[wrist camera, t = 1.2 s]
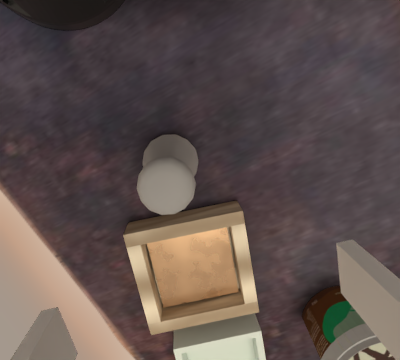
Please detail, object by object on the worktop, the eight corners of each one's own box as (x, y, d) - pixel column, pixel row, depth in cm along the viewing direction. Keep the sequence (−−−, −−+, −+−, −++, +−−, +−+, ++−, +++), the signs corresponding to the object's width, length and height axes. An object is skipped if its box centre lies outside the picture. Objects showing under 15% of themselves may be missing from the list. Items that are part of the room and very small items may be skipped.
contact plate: (146, 236, 34) (145, 238, 34) (225, 220, 34) (226, 222, 34) (163, 304, 37) (163, 307, 36) (237, 289, 37) (238, 291, 36)
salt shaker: (196, 131, 33) (207, 147, 20) (198, 181, 34) (209, 226, 21) (142, 133, 32) (119, 151, 20) (147, 184, 34) (127, 230, 21)
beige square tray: (128, 222, 35) (123, 235, 31) (236, 200, 35) (242, 210, 31) (153, 314, 38) (151, 335, 35) (252, 293, 38) (259, 312, 35)
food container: (388, 280, 39) (457, 338, 29) (376, 320, 41) (438, 387, 31) (299, 274, 38) (341, 332, 28) (291, 315, 39) (327, 383, 30)
